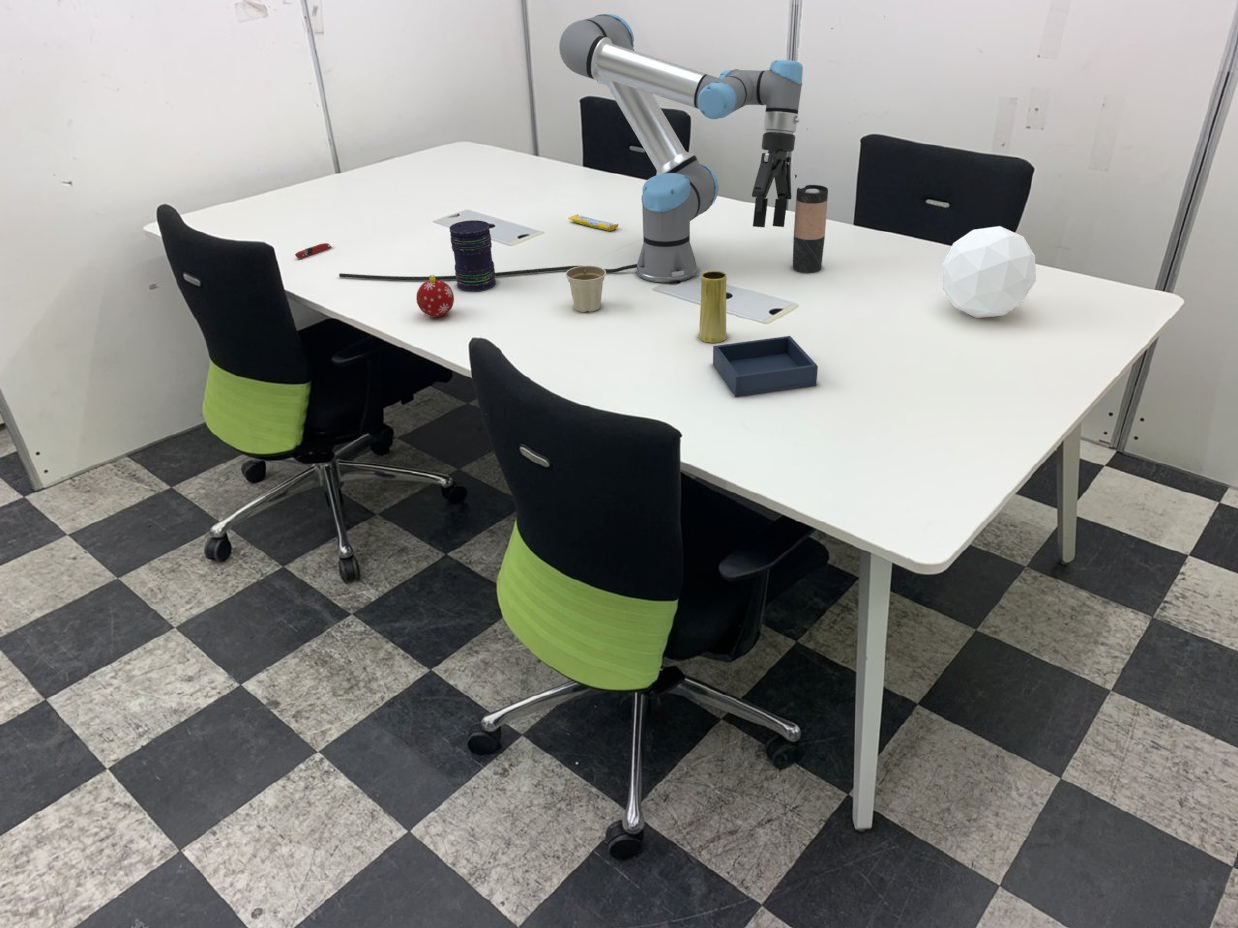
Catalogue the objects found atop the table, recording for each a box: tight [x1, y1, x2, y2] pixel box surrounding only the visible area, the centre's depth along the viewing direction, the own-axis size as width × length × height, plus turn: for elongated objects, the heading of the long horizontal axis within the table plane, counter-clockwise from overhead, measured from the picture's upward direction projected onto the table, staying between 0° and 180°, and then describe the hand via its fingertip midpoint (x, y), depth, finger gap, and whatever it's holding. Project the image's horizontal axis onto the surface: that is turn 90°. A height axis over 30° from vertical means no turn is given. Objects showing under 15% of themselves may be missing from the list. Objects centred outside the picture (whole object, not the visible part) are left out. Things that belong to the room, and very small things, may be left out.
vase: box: [698, 270, 728, 344], centre depth 199 cm, size 6×6×14 cm
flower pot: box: [565, 265, 607, 313], centre depth 217 cm, size 9×9×9 cm
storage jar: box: [449, 219, 497, 293], centre depth 231 cm, size 10×10×15 cm
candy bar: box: [568, 214, 620, 232], centre depth 270 cm, size 17×4×2 cm, turn 49°
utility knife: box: [294, 242, 332, 260], centre depth 259 cm, size 12×1×2 cm, turn 143°
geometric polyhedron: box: [941, 225, 1037, 319], centre depth 204 cm, size 19×20×20 cm
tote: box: [712, 335, 819, 398], centre depth 186 cm, size 17×15×4 cm
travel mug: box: [792, 184, 829, 274], centre depth 231 cm, size 8×8×20 cm
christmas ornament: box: [416, 274, 455, 318], centre depth 216 cm, size 9×9×10 cm
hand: (768, 227), depth 223 cm, fingers open, 13 cm apart
